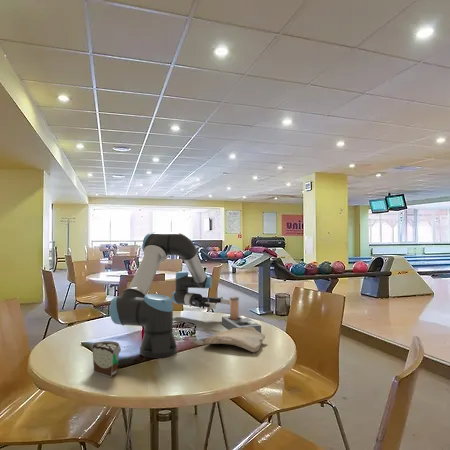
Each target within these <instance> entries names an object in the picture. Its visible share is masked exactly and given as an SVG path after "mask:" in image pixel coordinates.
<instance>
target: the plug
mask: <svg viewBox="0 0 450 450" xmlns="http://www.w3.org/2000/svg"><path fill="white" fill-rule="evenodd" d="M229 300H230V306H229V307H230V309H229V310H230V312H229V314H230V320H239V313H240V312H239V304H240V303H239V301H240V297H238V296H230V297H229Z"/></svg>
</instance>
